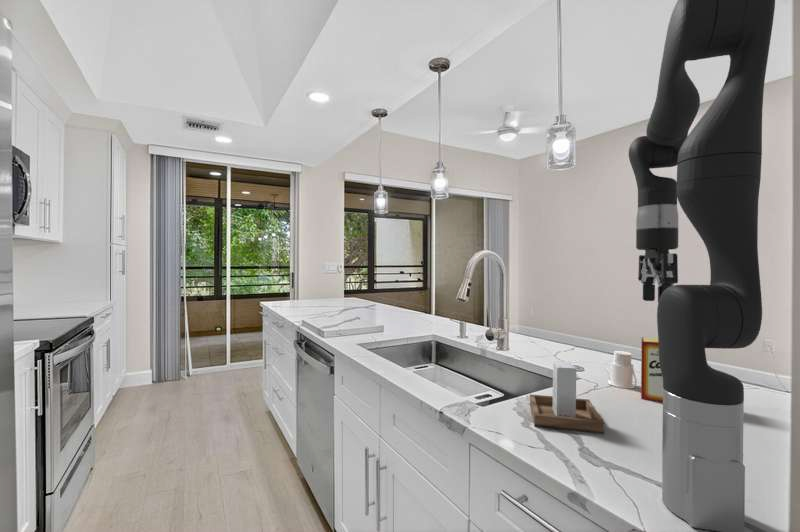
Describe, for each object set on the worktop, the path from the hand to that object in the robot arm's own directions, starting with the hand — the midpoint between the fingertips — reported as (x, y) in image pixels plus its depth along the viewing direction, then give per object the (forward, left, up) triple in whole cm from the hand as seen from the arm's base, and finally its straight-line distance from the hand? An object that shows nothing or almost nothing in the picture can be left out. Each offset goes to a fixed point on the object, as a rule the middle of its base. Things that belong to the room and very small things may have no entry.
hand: (656, 302), depth 81 cm
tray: (+3, +18, -28) cm, 34 cm away
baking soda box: (+24, -10, -28) cm, 38 cm away
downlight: (+34, -3, -28) cm, 44 cm away
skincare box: (+3, +18, -28) cm, 33 cm away
